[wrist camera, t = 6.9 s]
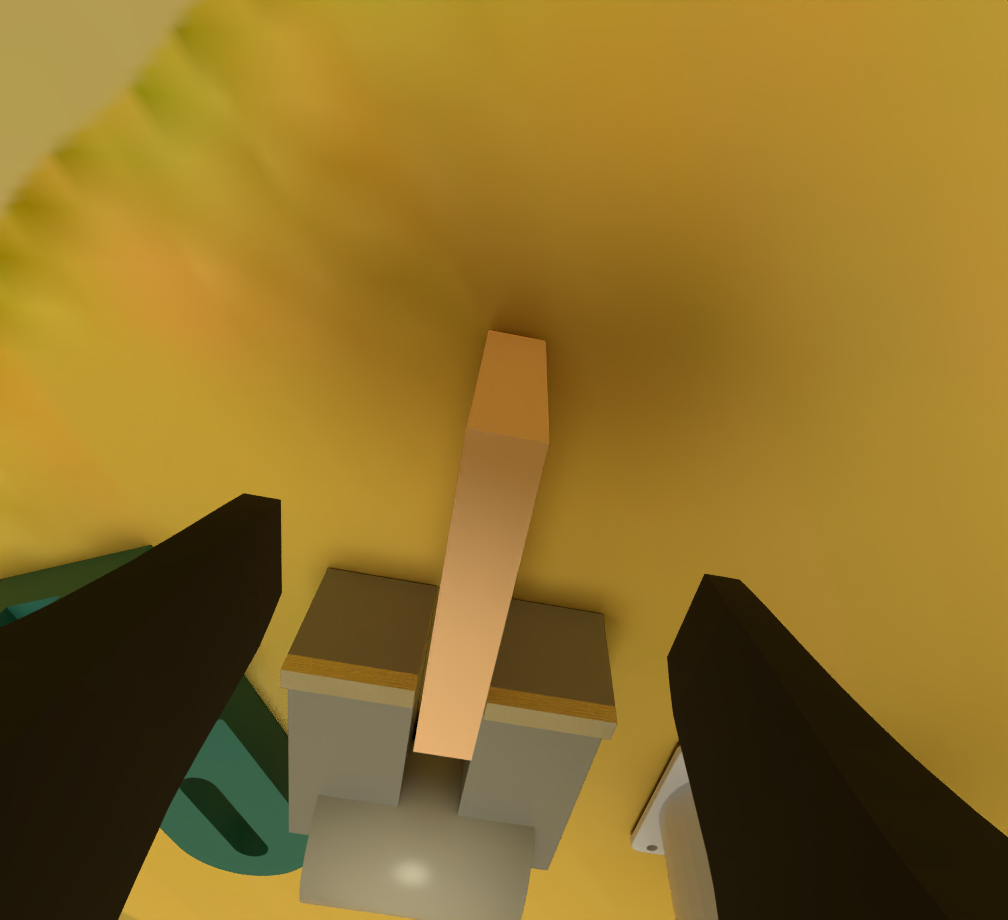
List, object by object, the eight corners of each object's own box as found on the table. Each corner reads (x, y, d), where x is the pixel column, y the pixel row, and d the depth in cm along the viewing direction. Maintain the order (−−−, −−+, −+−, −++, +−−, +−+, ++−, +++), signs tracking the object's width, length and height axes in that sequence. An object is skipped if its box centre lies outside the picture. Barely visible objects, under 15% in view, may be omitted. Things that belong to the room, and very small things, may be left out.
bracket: (3, 576, 23) (-222, 769, 16) (154, 541, 22) (-21, 735, 15) (233, 834, 31) (149, 1033, 24) (351, 819, 30) (297, 1024, 23)
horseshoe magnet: (327, 568, 22) (261, 710, 16) (602, 614, 22) (623, 767, 17) (319, 778, 28) (270, 928, 23) (532, 811, 29) (531, 965, 23)
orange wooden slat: (488, 329, 16) (466, 428, 11) (545, 340, 17) (549, 443, 11) (443, 597, 21) (413, 751, 16) (487, 605, 21) (471, 760, 16)
